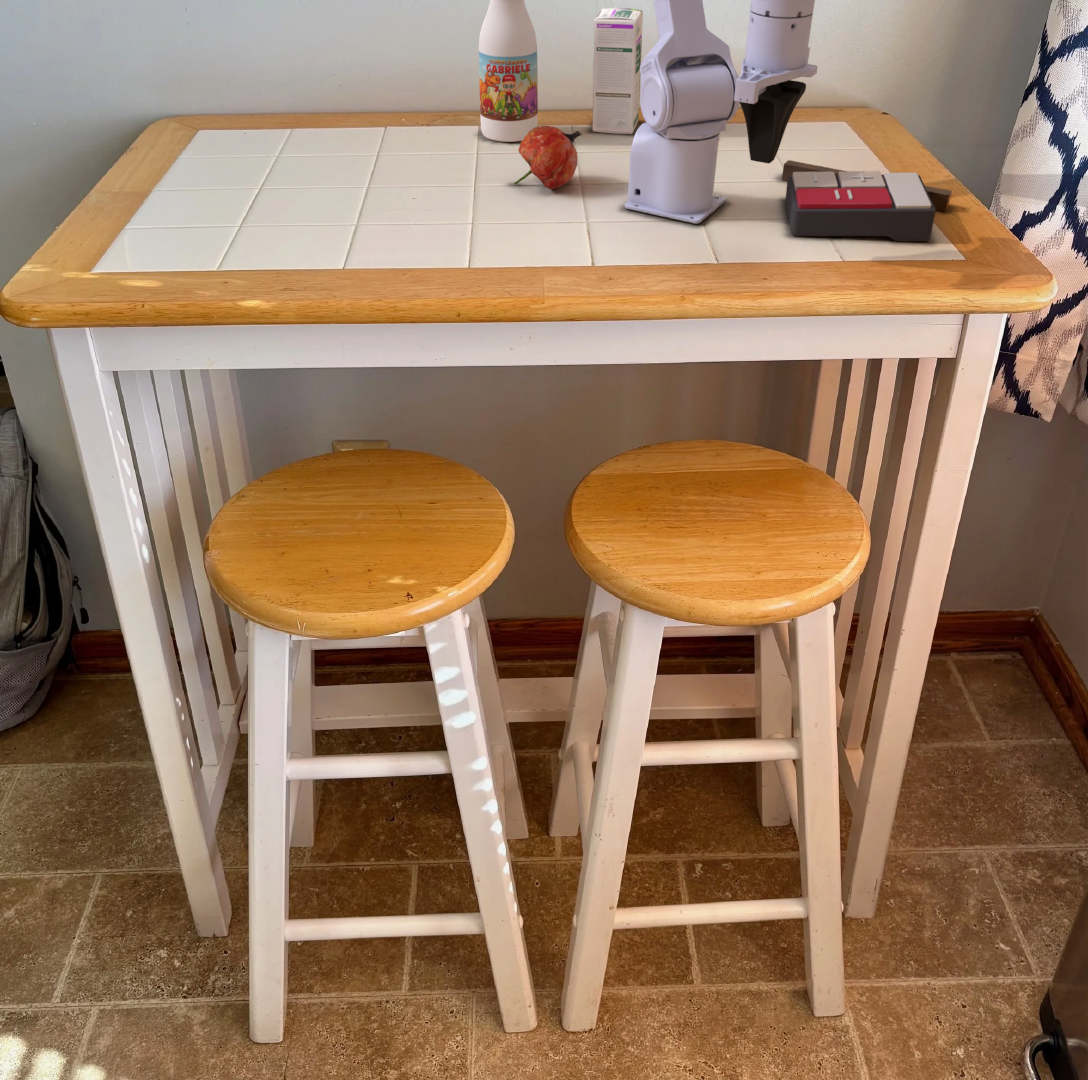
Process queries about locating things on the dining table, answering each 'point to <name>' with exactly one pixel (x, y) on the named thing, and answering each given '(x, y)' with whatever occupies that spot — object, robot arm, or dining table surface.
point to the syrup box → (617, 70)
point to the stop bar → (937, 195)
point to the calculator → (859, 205)
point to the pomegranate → (550, 155)
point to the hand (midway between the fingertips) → (762, 160)
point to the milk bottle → (508, 72)
